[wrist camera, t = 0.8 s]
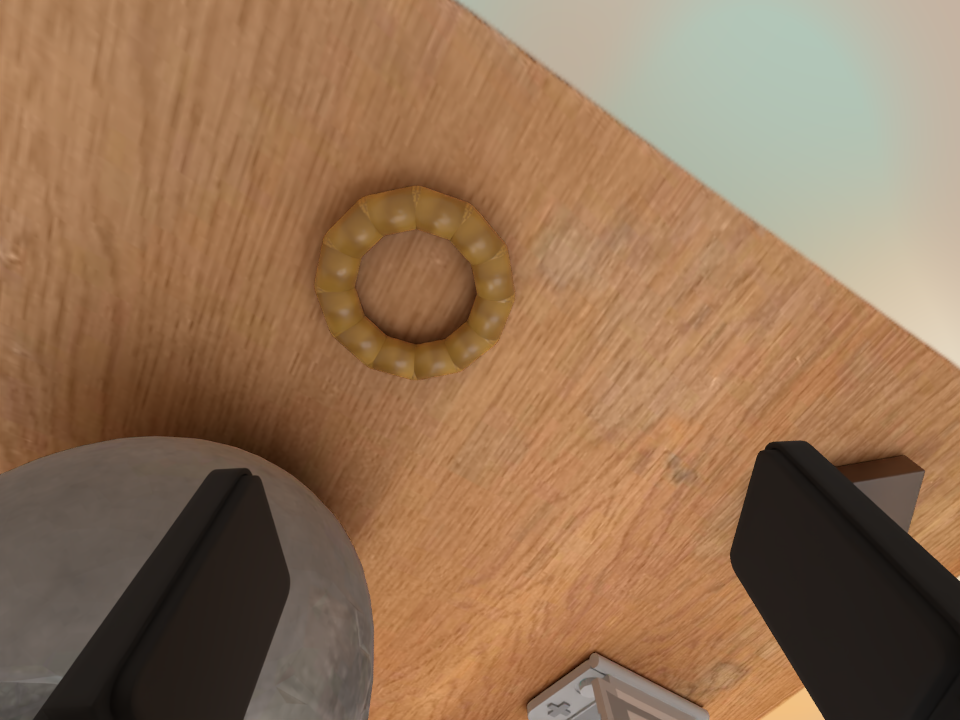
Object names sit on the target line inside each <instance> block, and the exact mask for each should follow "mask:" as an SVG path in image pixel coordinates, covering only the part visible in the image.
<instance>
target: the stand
mask: <svg viewBox="0 0 960 720" xmlns="http://www.w3.org/2000/svg"><path fill="white" fill-rule="evenodd" d="M836 468H837V469H838V470H839V471H840V472H841V473H842V474H843V475H844V476H846V477H847V478H848V479H849V480H850V481H851V482H852V483H853V484H854V485H855V486H856V487H858V488H859V489H860V490H861V491H862V492H863V493H864V494H865V495H866V496H867V497H868V498H869V499H871V500H872V501H873V502H874V503H875V504H876V505H877V506H878V507H879V508H880V509H881V510H883V511H884V512H885V513H886V514H887V515H888V516H889V517H890V518H891V519H892V520H893V521H895V522H896V523H897V524H898V525H899V526H900V527H901V528H902V529H903V530H904V531H905V532H907V533H908V530H909V527H910V523H911V520H912V516H913V512H914V509H915V505H916V502H917V498H918V495H919V491H920V488H921V484H922V480H923V477H924V473H925V470H924V469H922V468H921V467H920V466H918V465H917V464H916V463H914V462H913V461H912V460H910V459H909V458H908V457H906V456H898V457H892V458H886V459H880V460H875V461H869V462H863V463H857V464H851V465H846V466H840V467H836Z"/></svg>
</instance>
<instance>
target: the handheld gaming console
mask: <svg viewBox="0 0 960 720" xmlns="http://www.w3.org/2000/svg"><path fill="white" fill-rule="evenodd" d="M527 712H528V719H529V720H709V713H708V711H707V710H705V709H703V708H701V707H700V706H698V705H696V704H694V703H692V702H690V701H688V700H686V699H684V698H682V697H680V696H678V695H676V694H674V693H672V692H670V691H669V690H667V689H665V688H663V687H661V686H659V685H657V684H655V683H653V682H651V681H649V680H647V679H645V678H643V677H641V676H639V675H637V674H636V673H634V672H632V671H630V670H628V669H626V668H624V667H622V666H620V665H618V664H616V663H614V662H612V661H610V660H608V659H606V658H605V657H603V656H601V655H599V654H597V653H593V654H592V655H591V656H590V658H589V659H588V660H586V661H585V662H584V663H582V664H581V665H580V666H578V667H577V668H575V669H574V670H573V671H571V672H570V673H569V674H567V675H566V676H564V677H563V678H562V679H560V680H559V681H557V682H556V683H555V684H553V685H552V686H551V687H549V688H548V689H546V690H545V691H544V692H542V693H541V694H540V695H538V696H537V697H535V698H534V699H533V700H531V701H530V702H529V703H528V705H527Z"/></svg>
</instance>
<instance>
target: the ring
mask: <svg viewBox="0 0 960 720" xmlns="http://www.w3.org/2000/svg"><path fill="white" fill-rule="evenodd" d="M415 229H418V230H421V231H424V232H427V233H430V234H433V235H436V236H439V237H442V238H445V239H448V240H450V242H451V243H452V244H453V245H454V246H455V247H456V248H457V249H458V250H459V252H460V253H461V254H462V255H463V256H464V257H465V258H466V259H467V260H468V262H469V263H470V264H471V267H472V272H473V276H474V281H475V286H476V291H477V295H476V298H475V301H474V304H473V307H472V309H471V312H470V315H469V318H468V321H466V322H465V323H464V324H463V325H462V326H460V327H459V328H458V329H457V330H456V331H454V332H453V333H452V334H451V335H450V336H448V337H447V338H446V339H442V340H437V341H432V342H427V343H421V344H413V343H409V342H406V341H403V340H399V339H396V338H392V337H389V336H386V335H385V334H384V333H383V332H382V331H381V330H380V329H379V328H378V327H377V326H376V325H375V324H374V323H372V322H371V321H370V320H369V319H368V318H367V317H366V316H365V315H364V313H363V309H362V306H361V303H360V300H359V297H358V294H357V291H356V288H355V284H356V279H357V275H358V271H359V267H360V263H361V258H362V257H363V256H364V255H365V254H366V253H367V252H368V251H369V250H370V249H371V248H372V247H373V246H374V245H375V244H376V243H377V242H378V241H379V240H380V239H381V238H382V237H383V236H386V235H391V234H395V233H400V232H405V231H410V230H415ZM314 288H315V292H316V295H317V298H318V300H319V303H320V306H321V309H322V311H323V314H324V317H325V320H326V322H327V325H328V328H329V331H330V333H331V334H332V336H333V337H334V338H335V339H336V340H338V341H339V342H340V343H341V344H342V345H343V346H344V347H345V348H346V349H348V350H349V351H350V352H351V353H352V354H353V355H354V356H355V357H357V358H358V359H359V360H360V361H361V362H362V363H363V364H364V365H366V366H367V367H369V368H371V369H374V370H378V371H381V372H385V373H389V374H392V375H396V376H399V377H403V378H407V379H410V380H421V379H426V378H432V377H437V376H442V375H447V374H453V373H458V372H461V371H463V370H464V369H465V368H467V367H468V366H469V365H470V364H472V363H473V362H474V361H475V360H477V359H478V358H479V357H480V356H482V355H483V354H484V353H485V352H487V351H488V350H489V349H490V348H492V347H493V346H494V345H495V344H496V343H497V342H498V340H499V339H500V336H501V334H502V331H503V328H504V326H505V323H506V321H507V318H508V316H509V313H510V311H511V308H512V306H513V303H514V300H515V289H514V283H513V277H512V271H511V265H510V259H509V253H508V249H507V246H506V244H505V243H504V241H503V240H502V239H501V238H500V237H499V236H498V234H497V233H496V232H495V231H494V230H493V228H492V227H491V226H490V225H489V224H488V223H487V221H486V220H485V219H484V218H483V217H482V215H481V214H480V213H479V212H478V211H477V210H476V208H475V207H474V206H473V205H471V204H470V203H468V202H465V201H463V200H460V199H457V198H454V197H451V196H448V195H445V194H443V193H440V192H437V191H434V190H431V189H428V188H425V187H422V186H409V187H405V188H400V189H395V190H391V191H386V192H381V193H376V194H372V195H367V196H364V197H362V198H361V199H360V200H358V201H357V202H356V203H355V204H354V205H353V206H352V207H351V208H350V209H349V210H348V211H347V212H346V213H345V214H344V215H343V216H342V217H341V218H340V219H339V220H338V221H337V222H336V223H335V224H334V225H333V226H332V227H331V228H330V229H329V230H328V232H327V233H326V234H325V236H324V238H323V242H322V247H321V252H320V257H319V262H318V267H317V272H316V277H315V282H314Z"/></svg>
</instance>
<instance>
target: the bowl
mask: <svg viewBox="0 0 960 720" xmlns="http://www.w3.org/2000/svg"><path fill="white" fill-rule="evenodd" d="M230 468H248V469H249V470H250V471H251V473H252V475H258V476H259V477H260V478H261V480H262V483H263V486H264V490H265V493H266V497H267V500H268V503H269V507H270V510H271V513H272V517H273V520H274V523H275V527H276V530H277V534H278V537H279V540H280V544H281V547H282V550H283V554H284V557H285V560H286V564H287V567H288V571H289V574H290V590H289V595H288V598H287V601H286V604H285V606H284V609H283V612H282V615H281V617H280V620H279V623H278V626H277V628H276V631H275V634H274V637H273V640H272V642H271V645H270V648H269V651H268V653H267V656H266V659H265V662H264V664H263V667H262V670H261V673H260V675H259V678H258V681H257V684H256V687H255V689H254V692H253V695H252V698H251V700H250V703H249V706H248V709H247V711H246V714H245V717H244V720H368V715H369V707H370V699H371V692H372V684H373V662H374V625H373V617H372V608H371V600H370V594H369V590H368V587H367V583H366V579H365V575H364V571H363V567H362V564H361V562H360V560H359V558H358V555H357V553H356V551H355V548H354V546H353V545H352V543H351V541H350V539H349V537H348V536H347V534H346V532H345V530H344V529H343V527H342V525H341V524H340V523H339V521H338V520H337V518H336V517H335V516H334V514H333V513H332V512H331V511H330V510H329V509H328V508H327V507H326V506H325V505H324V504H323V503H322V502H321V500H320V499H319V498H318V497H317V496H316V495H315V494H314V493H313V492H312V491H311V490H310V489H308V488H307V487H306V486H305V485H304V484H303V483H301V482H300V481H299V480H298V479H297V478H295V477H294V476H293V475H291V474H290V473H288V472H287V471H285V470H283V469H282V468H280V467H279V466H277V465H275V464H273V463H271V462H269V461H267V460H265V459H264V458H262V457H260V456H257V455H255V454H252V453H250V452H247V451H245V450H242V449H239V448H237V447H233V446H229V445H225V444H221V443H217V442H213V441H208V440H203V439H197V438H183V437H166V436H147V437H130V438H119V439H113V440H108V441H103V442H98V443H93V444H88V445H83V446H79V447H75V448H72V449H68V450H64V451H61V452H58V453H55V454H51V455H48V456H45V457H42V458H39V459H36V460H34V461H32V462H29V463H27V464H24V465H22V466H20V467H17V468H15V469H12V470H10V471H8V472H5V473H3V474H0V720H33V719H34V717H35V716H36V714H37V713H38V712H39V710H40V709H41V707H42V706H43V705H44V703H45V702H46V700H47V699H48V698H49V696H50V695H51V693H52V692H53V691H54V689H55V688H56V686H57V685H58V684H59V682H60V681H61V679H62V678H63V677H64V675H65V674H66V672H67V671H68V670H69V668H70V667H71V665H72V664H73V663H74V661H75V660H76V658H77V657H78V656H79V654H80V653H81V651H82V650H83V649H84V647H85V646H86V644H87V643H88V642H89V640H90V639H91V637H92V636H93V635H94V633H95V632H96V630H97V629H98V628H99V626H100V625H101V623H102V622H103V621H104V619H105V618H106V616H107V615H108V614H109V612H110V611H111V609H112V608H113V607H114V605H115V604H116V602H117V601H118V600H119V598H120V597H121V595H122V594H123V593H124V591H125V590H126V588H127V587H128V586H129V584H130V583H131V581H132V580H133V579H134V577H135V576H136V574H137V573H138V572H139V570H140V569H141V567H142V566H143V565H144V563H145V562H146V560H147V559H148V558H149V557H150V555H151V554H152V553H153V551H154V550H155V548H156V547H157V546H158V544H159V543H160V541H161V540H162V539H163V537H164V536H165V534H166V533H167V531H168V530H169V529H170V527H171V526H172V524H173V523H174V522H175V520H176V519H177V517H178V516H179V515H180V513H181V512H182V510H183V509H184V508H185V506H186V505H187V503H188V502H189V501H190V499H191V498H192V496H193V495H194V494H195V492H196V491H197V489H198V488H199V487H200V485H201V484H202V482H203V481H204V480H205V478H206V477H207V475H208V474H209V473H210V472H211V471H212V470H215V469H230Z"/></svg>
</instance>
